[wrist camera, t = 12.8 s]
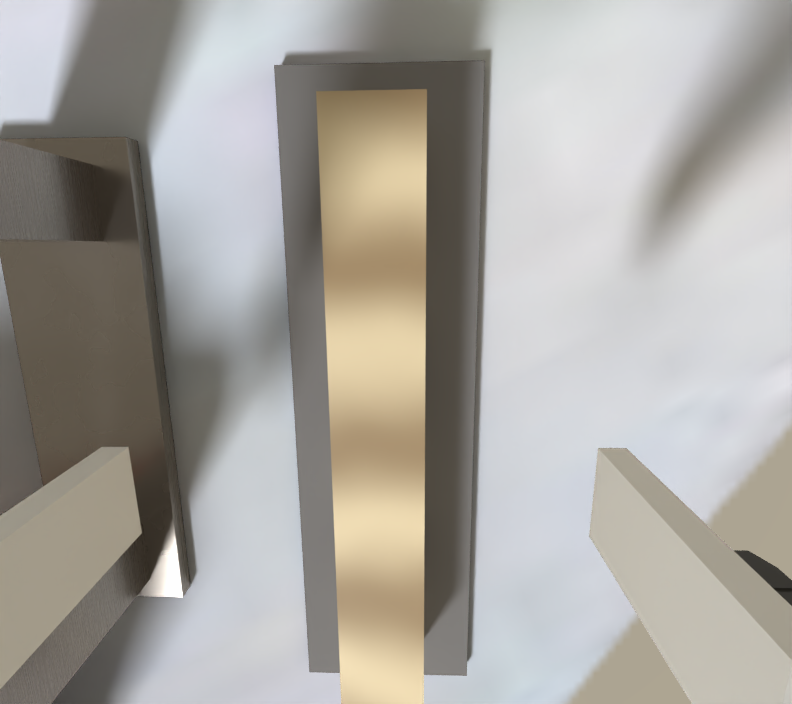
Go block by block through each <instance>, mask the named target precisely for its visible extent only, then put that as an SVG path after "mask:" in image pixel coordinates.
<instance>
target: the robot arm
mask: <svg viewBox="0 0 792 704" xmlns="http://www.w3.org/2000/svg"><path fill="white" fill-rule="evenodd" d="M141 533H142V531H141V524H140V518H139V512H138V505H137V499H136V492H135V486H134V480H133V473H132V467H131V461H130V454H129V448H128V447H101V448H99V449H98V450H96V451H95V452H94V453H92V454H91V455H89V456H88V457H86V458H85V459H83V460H82V461H80V462H79V463H77V464H76V465H74V466H73V467H71V468H70V469H68V470H67V471H66V472H64V473H63V474H61V475H60V476H58V477H57V478H55V479H54V480H52V481H51V482H49V483H48V484H46V485H45V486H43V487H42V488H40V489H39V490H37V491H36V492H35V493H33V494H32V495H30V496H29V497H27V498H26V499H24V500H23V501H21V502H20V503H18V504H17V505H15V506H14V507H12V508H11V509H9V510H8V511H7V512H5V513H4V514H2V515H1V516H0V689H1V688H2V687H3V686H4V685H5V683H6V682H7V681H8V680H9V679H10V678H11V677H12V676H13V675H14V674H15V672H16V671H17V670H18V669H19V668H20V667H21V666H22V665H23V664H24V662H25V661H26V660H27V659H28V658H29V657H30V656H31V655H32V654H33V653H34V651H35V650H36V649H37V648H38V647H39V646H40V645H41V644H42V643H43V642H44V640H45V639H46V638H47V637H48V636H49V635H50V634H51V633H52V632H53V630H54V629H55V628H56V627H57V626H58V625H59V624H60V623H61V622H62V621H63V619H64V618H65V617H66V616H67V615H68V614H69V613H70V612H71V611H72V609H73V608H74V607H75V606H76V605H77V604H78V603H79V602H80V601H81V600H82V598H83V597H84V596H85V595H86V594H87V593H88V592H89V591H90V590H91V589H92V587H93V586H94V585H95V584H96V583H97V582H98V581H99V580H100V579H101V577H102V576H103V575H104V574H105V573H106V572H107V571H108V570H109V569H110V568H111V566H112V565H113V564H114V563H115V562H116V561H117V560H118V559H119V558H120V556H121V555H122V554H123V553H124V552H125V551H126V550H127V549H128V548H129V547H130V545H131V544H132V543H133V542H134V541H135V540H136V539H137V538H138V537H139V536H140V534H141ZM589 537H590V538H591V540H592V542H593V543H594V545H595V546H596V548H597V550H598V551H599V553H600V555H601V556H602V558H603V559H604V561H605V563H606V564H607V566H608V568H609V569H610V571H611V573H612V574H613V576H614V577H615V579H616V581H617V582H618V584H619V586H620V587H621V589H622V591H623V592H624V594H625V595H626V597H627V599H628V600H629V602H630V604H631V605H632V607H633V609H634V610H635V612H636V613H637V615H638V617H639V618H640V620H641V622H642V623H643V625H644V626H645V628H646V630H647V631H648V633H649V635H650V636H651V638H652V640H653V641H654V643H655V644H656V646H657V647H658V649H659V651H660V653H661V654H662V656H663V657H664V659H665V661H666V662H667V664H668V666H669V667H670V669H671V671H672V672H673V674H674V675H675V677H676V679H677V680H678V682H679V684H680V685H681V687H682V689H683V690H684V692H685V693H686V695H687V697H688V698H689V700H690V701H691V703H692V704H792V580H791V579H789V578H788V577H787V576H786V575H785V574H784V573H783V572H782V571H780V570H779V569H778V568H777V567H775V566H773V565H772V564H770V563H768V562H767V561H765V560H763V559H761V558H760V557H758V556H756V555H755V554H753V553H751V552H749V551H734V550H732V549H731V548H730V547H729V546H728V545H727V544H726V543H725V542H724V541H723V540H722V539H721V538H720V537H719V536H718V535H717V534H716V533H715V532H714V531H713V530H712V529H710V528H709V527H708V526H707V525H706V524H705V523H704V522H703V521H702V520H701V519H700V518H699V517H698V516H697V515H696V514H695V513H694V512H693V511H692V510H691V509H690V508H688V507H687V506H686V505H685V504H684V503H683V502H682V501H681V500H680V499H679V498H678V497H677V496H676V495H675V494H674V493H673V492H672V491H671V490H670V489H669V488H668V487H666V486H665V485H664V484H663V483H662V482H661V481H660V480H659V479H658V478H657V477H656V476H655V475H654V474H653V473H652V472H651V471H650V470H649V469H648V468H647V467H645V466H644V465H643V464H642V463H641V462H640V461H639V460H638V459H637V458H636V457H635V456H634V455H633V454H632V453H631V452H630V451H629V450H628V449H627V448H598V455H597V465H596V475H595V484H594V494H593V504H592V514H591V524H590V534H589Z"/></svg>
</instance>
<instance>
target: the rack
mask: <svg viewBox="0 0 792 704" xmlns="http://www.w3.org/2000/svg"><path fill="white" fill-rule="evenodd" d="M0 258H1V263H2V268H3V274H4V279H5V284H6V290H7V295H8V300H9V306H10V311H11V317H12V322H13V327H14V333H15V338H16V343H17V349H18V354H19V359H20V365H21V370H22V375H23V381H24V386H25V391H26V397H27V402H28V407H29V413H30V418H31V423H32V429H33V434H34V439H35V445H36V450H37V455H38V461H39V466H40V471H41V477H42V482H43V486H45V485H46V484H48V483H49V482H51V481H52V480H54V479H55V478H57V477H58V476H60V475H61V474H63V473H64V472H66V471H67V470H68V469H70V468H71V467H73V466H74V465H76V464H77V463H79V462H80V461H82V460H83V459H85V458H86V457H88V456H89V455H91V454H92V453H94V452H95V451H96V450H98V449H99V448H101V447H128V448H129V454H130V461H131V467H132V473H133V480H134V486H135V492H136V499H137V505H138V512H139V518H140V524H141V531H142V533H141V534H140V536H139V537H138V538H137V539H136V540H135V541H134V542H133V543H132V544H131V545H130V547H129V548H128V549H127V550H126V551H125V552H124V553H123V554H122V555H121V556H120V558H119V559H118V560H117V561H116V562H115V563H114V564H113V565H112V566H111V568H110V569H109V570H108V571H107V572H106V573H105V574H104V575H103V576H102V577H101V579H100V580H99V581H98V582H97V583H96V584H95V585H94V586H93V587H92V589H91V590H90V591H89V592H88V593H87V594H86V595H85V596H84V597H83V598H82V600H81V601H80V602H79V603H78V604H77V605H76V606H75V607H74V608H73V609H72V611H71V612H70V613H69V614H68V615H67V616H66V617H65V618H64V619H63V621H62V622H61V623H60V624H59V625H58V626H57V627H56V628H55V629H54V630H53V632H52V633H51V634H50V635H49V636H48V637H47V638H46V639H45V640H44V642H43V643H42V644H41V645H40V646H39V647H38V648H37V649H36V650H35V651H34V653H33V654H32V655H31V656H30V657H29V658H28V659H27V660H26V661H25V662H24V664H23V665H22V666H21V667H20V668H19V669H18V670H17V671H16V672H15V674H14V675H13V676H12V677H11V678H10V679H9V680H8V681H7V682H6V683H5V685H4V686H3V687H2V688H1V689H0V704H52V702H53V701H54V700H55V699H56V697H57V696H58V695H59V694H60V692H61V691H62V690H63V688H64V687H65V686H66V685H67V683H68V682H69V681H70V680H71V678H72V677H73V676H74V675H75V673H76V672H77V671H78V670H79V668H80V667H81V666H82V665H83V663H84V662H85V661H86V659H87V658H88V657H89V656H90V654H91V653H92V652H93V651H94V649H95V648H96V647H97V646H98V644H99V643H100V642H101V641H102V639H103V638H104V637H105V636H106V634H107V633H108V632H109V630H110V629H111V628H112V627H113V625H114V624H115V623H116V622H117V620H118V619H119V618H120V617H121V615H122V614H123V613H124V612H125V610H126V609H127V608H128V607H129V605H130V604H131V603H132V602H133V600H134V599H135V598H136V596H145V597H183V596H184V595H185V593H186V592H187V590H188V589H189V587H190V578H189V569H188V561H187V552H186V544H185V535H184V527H183V519H182V510H181V502H180V493H179V485H178V477H177V468H176V460H175V451H174V443H173V435H172V426H171V418H170V409H169V401H168V393H167V384H166V376H165V367H164V359H163V350H162V342H161V334H160V325H159V317H158V308H157V300H156V292H155V283H154V275H153V266H152V258H151V250H150V241H149V233H148V224H147V216H146V208H145V199H144V191H143V182H142V174H141V165H140V157H139V149H138V141H135V140H132V139H130V138H127V137H92V138H33V139H0Z"/></svg>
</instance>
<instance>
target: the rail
mask: <svg viewBox="0 0 792 704" xmlns="http://www.w3.org/2000/svg"><path fill="white" fill-rule="evenodd" d="M316 100H317V124H318V149H319V173H320V197H321V221H322V246H323V270H324V294H325V319H326V343H327V367H328V391H329V416H330V440H331V464H332V489H333V513H334V537H335V562H336V586H337V610H338V634H339V659H340V683H341V704H424V535H425V355H426V175H427V89H406V90H356V91H316Z"/></svg>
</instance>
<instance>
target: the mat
mask: <svg viewBox="0 0 792 704" xmlns="http://www.w3.org/2000/svg"><path fill="white" fill-rule="evenodd" d="M484 68H485V61H441V62H396V63H351V64H305V65H274V70H275V87H276V104H277V122H278V139H279V156H280V173H281V190H282V208H283V225H284V242H285V259H286V276H287V293H288V311H289V328H290V345H291V362H292V379H293V397H294V414H295V431H296V448H297V465H298V482H299V500H300V517H301V534H302V551H303V568H304V586H305V603H306V620H307V637H308V654H309V671H310V672H325V673H340V659H339V634H338V610H337V586H336V562H335V537H334V513H333V489H332V464H331V440H330V416H329V391H328V367H327V343H326V319H325V294H324V270H323V246H322V221H321V197H320V173H319V149H318V124H317V100H316V91H356V90H406V89H427V175H426V355H425V535H424V675H460V676H467V645H468V611H469V577H470V543H471V509H472V475H473V441H474V407H475V373H476V339H477V306H478V272H479V238H480V204H481V170H482V136H483V102H484Z"/></svg>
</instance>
